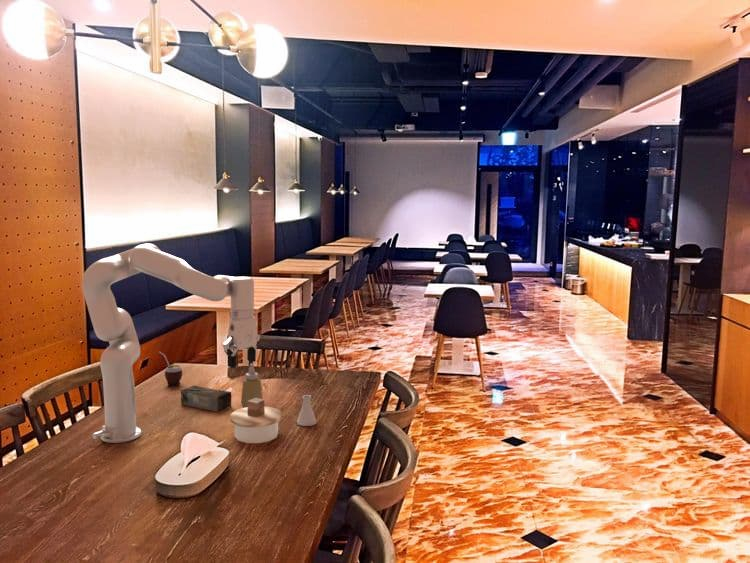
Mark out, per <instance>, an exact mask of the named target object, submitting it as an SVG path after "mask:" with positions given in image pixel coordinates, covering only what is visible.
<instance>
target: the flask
mask: <svg viewBox="0 0 750 563" xmlns="http://www.w3.org/2000/svg"><path fill="white" fill-rule="evenodd" d="M311 399H312V395H309V394H304V395H302V405H301V406H302V407H301V409H300V412H299V414H298V418H297V421H296V425H298V426H300V427H312V426H314V425H316V424H317V420H316V417H315V414H314V411H313V408H312V404H311Z"/></svg>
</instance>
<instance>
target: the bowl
mask: <svg viewBox="0 0 750 563" xmlns="http://www.w3.org/2000/svg"><path fill="white" fill-rule="evenodd" d="M278 435H279V421H278V422H277V423H275V424H272V425H268V426H263V427H242V426H238V425H235V424H234V438H235V439H236V441H238V442H242V443H245V444H261V443H268V442H271V441H272V440H275V439H276V438H278Z"/></svg>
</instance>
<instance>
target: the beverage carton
mask: <svg viewBox="0 0 750 563" xmlns="http://www.w3.org/2000/svg"><path fill="white" fill-rule="evenodd" d="M180 404H181V405H182V404H183V405H184V406H189V407H193V408H197V409H202V410H207V411H212V412H216V413H219V412H222V411H224V410H227V409H229V408H231V407H232V391H227V390H220V389H215V388H209V387H204V386H203V387H202V386H198V385H192V386H188V387H184V388H183V389H180Z"/></svg>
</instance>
